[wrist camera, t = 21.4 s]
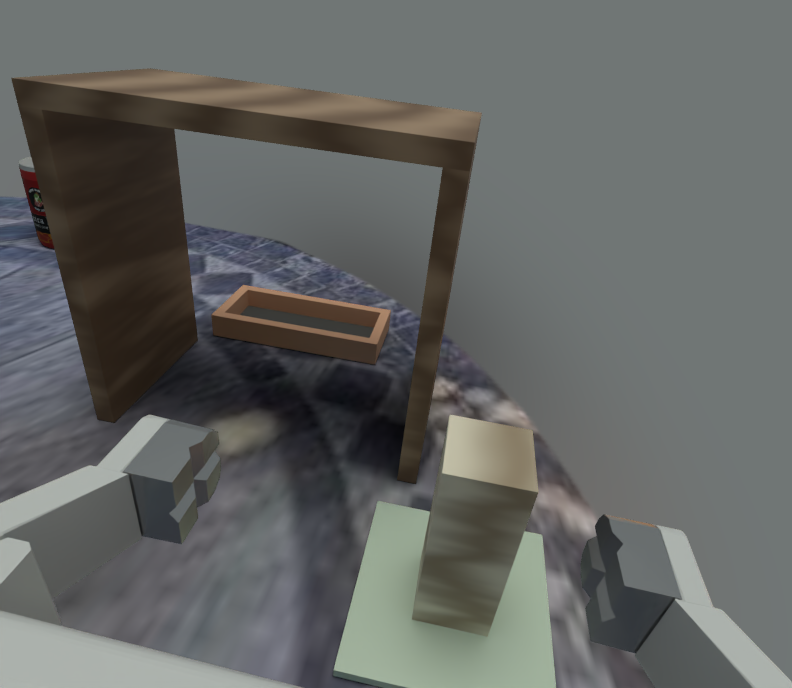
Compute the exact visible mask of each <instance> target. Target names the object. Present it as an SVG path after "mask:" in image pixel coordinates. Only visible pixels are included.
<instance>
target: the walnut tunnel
mask: <svg viewBox="0 0 792 688" xmlns="http://www.w3.org/2000/svg"><path fill="white" fill-rule="evenodd" d="M12 83H13V87H14V91H15V95H16V98H17V103H18V107H19V110H20V114H21V118H22V122H23V126H24V130H25V134H26V138H27V142H28V146H29V150H30V154H31V158H32V162H33V166H34V170H35V174H36V178H37V182H38V186H39V190H40V194H41V198H42V201H43V205H44V209H45V213H46V217H47V221H48V225H49V229H50V233H51V237H52V241H53V245H54V249H55V253H56V257H57V261H58V265H59V269H60V273H61V277H62V281H63V285H64V289H65V292H66V296H67V300H68V304H69V308H70V312H71V316H72V320H73V324H74V328H75V332H76V336H77V340H78V344H79V348H80V352H81V356H82V360H83V364H84V368H85V372H86V376H87V379H88V383H89V387H90V391H91V395H92V399H93V403H94V407H95V411H96V415H97V419H98V420H103V421H108V422H113V423H115V422H116V421H117V420H118V419H119V418H120V417H121V416H122V415H123V414H124V413H125V412H126V411H127V410H128V409H129V408H130V407H131V406H132V405H133V404H134V403H135V402H136V401H137V400H138V399H139V398H140V397H141V396H142V395H143V394H144V393H145V392H146V391H147V390H148V389H149V388H150V387H151V386H152V385H153V384H154V383H155V382H156V381H157V380H158V379H159V378H160V377H161V376H162V375H163V374H164V373H165V372H166V371H167V370H168V369H169V368H170V367H171V366H172V365H173V364H174V363H175V362H176V361H177V360H178V359H179V358H180V357H181V356H182V355H183V354H184V353H185V352H186V351H187V350H189V349H190V348H191V347H192V346H193V345H194V344H195V343H196V342H197V341H198V338H197V329H196V320H195V311H194V302H193V293H192V284H191V275H190V266H189V257H188V248H187V239H186V230H185V222H184V212H183V203H182V195H181V186H180V177H179V168H178V159H177V150H176V141H175V133H174V129H180V130H187V131H193V132H200V133H208V134H214V135H222V136H228V137H235V138H242V139H249V140H256V141H263V142H270V143H276V144H283V145H290V146H298V147H304V148H311V149H318V150H325V151H332V152H339V153H346V154H352V155H359V156H366V157H373V158H380V159H388V160H394V161H402V162H408V163H415V164H422V165H429V166H436V167H443V170H442V176H441V184H440V190H439V197H438V204H437V211H436V217H435V225H434V231H433V238H432V245H431V252H430V259H429V266H428V273H427V279H426V286H425V293H424V300H423V306H422V313H421V320H420V327H419V334H418V341H417V347H416V354H415V361H414V368H413V375H412V382H411V389H410V395H409V402H408V409H407V416H406V423H405V430H404V436H403V443H402V450H401V457H400V464H399V471H398V477H397V480H399V481H404V482H409V483H414V484H416V480H417V475H418V469H419V464H420V459H421V453H422V448H423V442H424V437H425V432H426V426H427V421H428V415H429V410H430V405H431V399H432V394H433V389H434V383H435V377H436V372H437V366H438V360H439V354H440V349H441V343H442V337H443V332H444V326H445V320H446V314H447V308H448V303H449V297H450V292H451V286H452V280H453V274H454V269H455V263H456V257H457V251H458V246H459V240H460V234H461V228H462V223H463V217H464V211H465V206H466V200H467V194H468V189H469V183H470V177H471V171H472V165H473V160H474V154H475V149H476V143H477V137H478V131H479V125H480V120H481V114H482V113H479V112H471V111H464V110H457V109H448V108H442V107H434V106H427V105H419V104H411V103H404V102H397V101H389V100H381V99H374V98H367V97H359V96H352V95H344V94H337V93H330V92H322V91H314V90H306V89H300V88H292V87H285V86H277V85H270V84H262V83H254V82H247V81H239V80H232V79H225V78H217V77H210V76H202V75H195V74H187V73H180V72H173V71H165V70H158V69H136V70H121V71H106V72H92V73H77V74H62V75H48V76H33V77H18V78H12Z"/></svg>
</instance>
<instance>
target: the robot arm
mask: <svg viewBox="0 0 792 688" xmlns="http://www.w3.org/2000/svg"><path fill="white" fill-rule="evenodd" d="M218 445H219V437H218V432H217V431H215V430H213V429H209V428H205V427H200V426H196V425H192V424H188V423H184V422H180V421H176V420H172V419H171V420H170V419H166V418H162V417H158V416H154V415H150V414H149V415H147V416H145V417H143V418H141V419H140V420H139V421H138V422H137V424H136V425H135V426H134V427H133V428H132V429H131V430H130V431H129V432H128V433H127V434H126V435H125V436H124V437H123V439H122V440H121V441H120V442H119V443H118V444H117V445H116V446H115V447H114V448H113V449H112V450H111V451H110V452H109V453H108V455H107V456H106V457H105V458H104V459H103V460H102V461H101V462H100V463H99V464H98V465H97V466H91V465H89V466H87V467H84V468H82V469H80V470H77V471H75V472H72V473H70V474H68V475H65V476H63V477H61V478H58V479H56V480H54V481H51V482H49V483H47V484H44V485H42V486H40V487H37V488H35V489H33V490H30V491H28V492H26V493H23V494H21V495H18V496H16V497H14V498H11V499H9V500H7V501H4V502H2V503H0V688H303V687H299V686H295V685H291V684H287V683H283V682H279V681H275V680H271V679H267V678H263V677H259V676H256V675H252V674H248V673H244V672H240V671H236V670H232V669H228V668H224V667H220V666H216V665H212V664H209V663H205V662H201V661H197V660H193V659H189V658H185V657H181V656H177V655H173V654H169V653H165V652H162V651H158V650H154V649H150V648H146V647H142V646H138V645H134V644H130V643H126V642H122V641H119V640H115V639H111V638H107V637H103V636H99V635H95V634H91V633H87V632H83V631H79V630H75V629H72V628H68V627H64V626H61V618H60V616H59V614H58V611H57V609H56V606H55V604H54V601H53V598H54V597H56V596H57V595H59V594H60V593H62V592H63V591H65V590H66V589H68V588H69V587H71V586H72V585H74V584H75V583H77V582H78V581H80V580H81V579H83V578H84V577H86V576H87V575H89V574H90V573H91V572H93V571H94V570H96V569H97V568H99V567H100V566H102V565H103V564H105V563H106V562H108V561H109V560H111V559H112V558H114V557H115V556H117V555H118V554H120V553H121V552H123V551H124V550H126V549H127V548H129V547H130V546H132V545H133V544H135V543H136V542H138V541H139V540H141V539H142V536H144V537H149V538H154V539H159V540H163V541H168V542H173V543H178V544H182V543H183V541H184V540H185V538H186V537H187V535H188V534H189V532H190V530H191V529H192V527H193V526H194V524H195V522H196V521H197V519H198V513H197V508H198V507H199V506H201V505H203V504H205V503H207V502H208V501H209V500H210V498H211V496H212V495H213V493H214V491H215V489H216V486H217V483H218V481H219V478H220V471H221V459H220V457H219V456H218V455H217V454H216V453H215V449H216V448H217V446H218ZM595 529H596V534H597V536H596V537H594V538H592V539H590V540H588V541H587V543H586V545H585V548H584V550H583V553H582V559H581V564H580V567H581V582H582V588H583V589H584V590H585V592H586V593H587V594H588V596H589V597H590V598H591V599H590V601H589V603H588V604H587V606H586V608H585V610H586V616H587V622H588V629H589V635H590V641H591V642H594V643H598V644H602V645H606V646H609V647H613V648H617V649H621V650H625V651H628V652H632V653H636V654H635V657H636V658H637V660H638V662H639V663H640V665H641V666H642V668H643V669H644V671H645V672H646V674H647V675H648V677H649V679H650V680H651V682H652V683H653V685H654V686H655V688H792V682H791V681H790V680H789V679H788V678H787V676H786V675H785V674H784V673H783V672H782V671H781V670H780V669H779V668H778V667H777V666H776V665H775V664H774V663H773V662H772V661H771V660H770V659H769V658H768V657H767V656H766V655H765V654H764V653H763V652H762V651H761V650H760V649H759V648H758V646H757V645H756V644H755V643H754V642H753V641H752V640H751V639H750V638H749V637H748V636H747V635H746V634H745V633H744V632H743V631H742V630H741V629H740V628H739V627H738V626H737V625H736V624H735V623H734V622H733V621H732V620H731V619H730V618H729V617H728V615H727V614H726V613H725V612H724V611H723V610H721V609H717V608H714V607H713V605H712V602H711V600H710V597H709V594H708V592H707V589H706V586H705V584H704V581H703V578H702V576H701V573H700V571H699V568H698V565H697V563H696V560H695V558H694V555H693V553H692V550H691V547H690V545H689V542H688V540H687V537H686V535H685V534H684V533H683V532H682V531H681V530H676V529H672V528H667V527H662V526H657V525H652V524H648V523H643V522H639V521H634V520H629V519H624V518H619V517H614V516H610V515H605V514H604V515H602V516H601V517H600V518H599V520H598V521H597V523H596V525H595Z"/></svg>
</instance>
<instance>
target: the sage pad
mask: <svg viewBox="0 0 792 688" xmlns="http://www.w3.org/2000/svg"><path fill="white" fill-rule="evenodd" d="M429 515H430V512H429V511H424V510H419V509H414V508H410V507H405V506H400V505H395V504H390V503H385V502H381V501H378V502H377V506H376V510H375V514H374V518H373V521H372V525H371V529H370V533H369V537H368V541H367V544H366V548H365V552H364V556H363V560H362V563H361V567H360V571H359V575H358V579H357V583H356V586H355V590H354V594H353V598H352V602H351V606H350V609H349V613H348V617H347V621H346V625H345V628H344V632H343V636H342V640H341V644H340V648H339V651H338V655H337V659H336V663H335V667H334V671H333V676H336V677H340V678H344V679H348V680H353V681H357V682H361V683H365V684H369V685H373V686H377V687H382V688H556V681H555V670H554V659H553V648H552V637H551V627H550V616H549V605H548V594H547V583H546V572H545V561H544V550H543V539H542V535H540V534H535V533H530V532H525V531H524V534H523V537H522V540H521V543H520V546H519V549H518V551H517V554H516V557H515V560H514V563H513V566H512V569H511V571H510V574H509V577H508V580H507V583H506V586H505V589H504V591H503V594H502V597H501V600H500V603H499V606H498V609H497V611H496V614H495V617H494V620H493V623H492V626H491V629H490V631H489V634H488V637H486V636H482V635H478V634H473V633H469V632H464V631H460V630H456V629H451V628H447V627H443V626H438V625H434V624H429V623H425V622H421V621H416V620H412V615H413V608H414V601H415V595H416V588H417V581H418V574H419V568H420V561H421V555H422V550H423V545H424V540H425V535H426V530H427V525H428V520H429Z"/></svg>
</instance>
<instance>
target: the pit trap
mask: <svg viewBox="0 0 792 688" xmlns="http://www.w3.org/2000/svg"><path fill="white" fill-rule="evenodd" d="M390 313H391V310H386V309H380V308H374V307H368V306H363V305H357V304H351V303H345V302H339V301H334V300H328V299H322V298H316V297H310V296H304V295H299V294H293V293H287V292H281V291H275V290H270V289H264V288H258V287H252V286H246V285H243V286H242V287H240V288H239V289H238V290H237V291H236V292H235V293H234V294H233V295H232V296H231V297H230V298H229V299H228V300H227V301H226V302H225V303H224V304H223V305H221V306H220V307H219V308H218V309H217V310H216V311H215V312H214V313H213V314H212V326H213V335H215V336H221V337H226V338H232V339H237V340H243V341H248V342H254V343H259V344H265V345H270V346H275V347H281V348H286V349H292V350H297V351H303V352H308V353H314V354H319V355H325V356H330V357H336V358H341V359H347V360H352V361H358V362H363V363H369V364H374V365H375V363H376V361H377V358H378V356H379V353H380V350H381V348H382V345H383V343H384V340H385V337H386V335H387V332H388V329H389V322H390Z"/></svg>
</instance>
